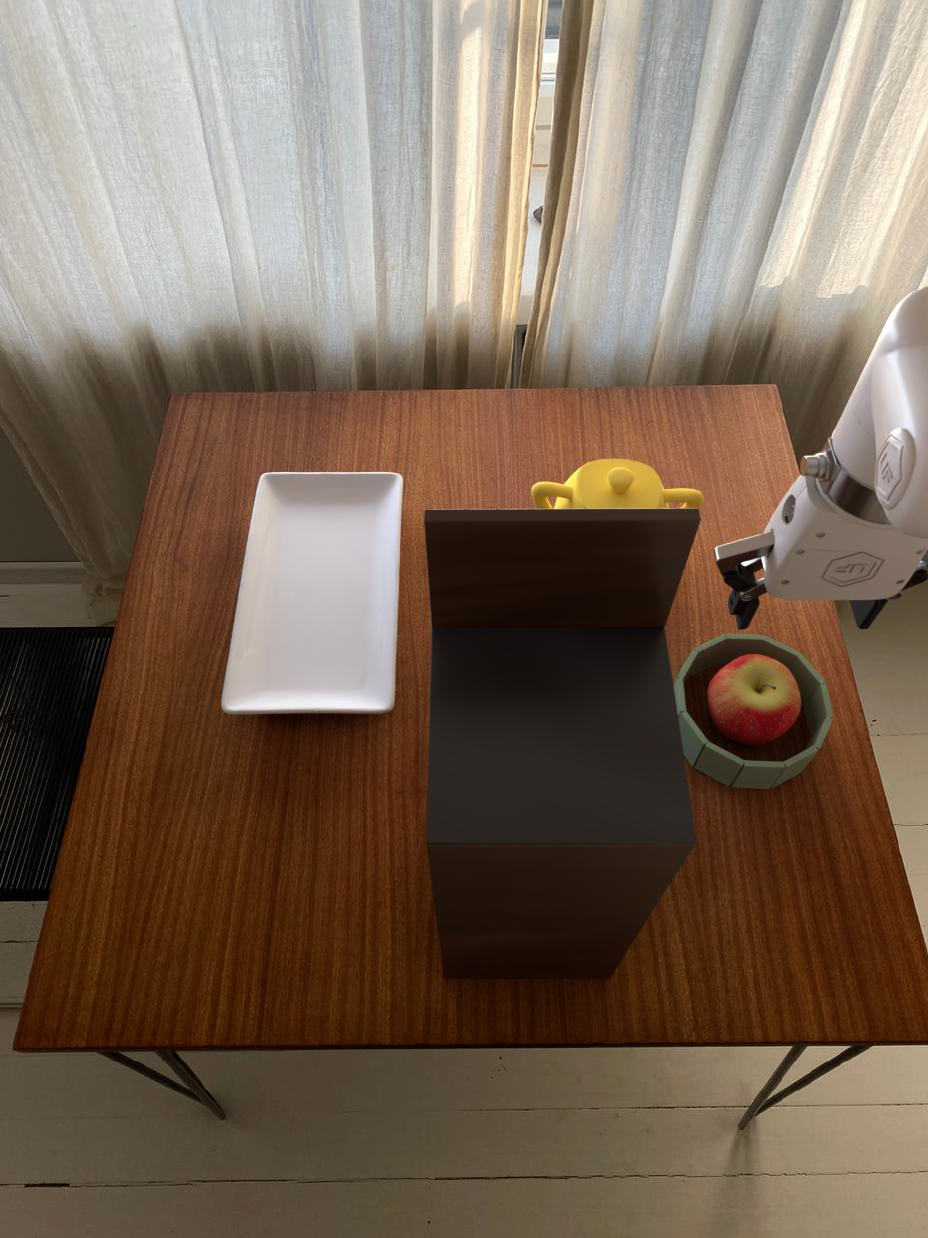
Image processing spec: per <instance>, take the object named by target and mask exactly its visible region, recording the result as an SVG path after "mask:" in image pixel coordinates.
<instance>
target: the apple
mask: <svg viewBox="0 0 928 1238" xmlns="http://www.w3.org/2000/svg"><path fill="white" fill-rule="evenodd" d="M706 692H707V693H706V702H707V708H708V712H709V715H710V718H711V720H712V722H713V724H714V726H715V728H716V729H717V731H718V732H720V733H721V734H722V735H723V736H725V737H726V738H727V739H729V740H732V741H734V742H737V743H739V744H743V745H747V746H762V745H765V744H768V743H771V742H772V741H775V740H776V739H778V738H779V737H781V736H783V735H784V734H785V733H786V732H788V731H789V729H790V728H791V727H792V726H793V725H794V724H795V722H796V721H797V719H798V717H799V715H800V711H801V708H802V705H801V697H800V692H799V688H798V685H797V683H796V680H795V678H794V676H793V675H792V673H791V672H790V670H789V669H788V668H787V667H786V666H784V665H783V664H782V663H780V662H778V661H777V660H775V659H772V658H770V657H767V656H764V655H758V654H749V655H744V656H741V657H739V658H737V659H735V660H733V661H732V662H730V663H728V664H725V665H724V666H723V667H722V668H720V669H719V670H718V672H717V673H716V674H715V675H714V676H713V678H711V680H710V682H709V685H708V686H707V691H706Z"/></svg>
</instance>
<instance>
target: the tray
mask: <svg viewBox="0 0 928 1238" xmlns="http://www.w3.org/2000/svg"><path fill="white" fill-rule="evenodd" d="M403 492H404V478H403V476H402V475H401V474H400V473H397V472H387V471H386V472H384V471H381V472H380V471H376V472H373V471H370V472H369V471H367V472H365V471H363V472H361V471H360V472H359V471H358V472H357V471H356V472H328V471H327V472H321V471H319V472H301V471H300V472H299V471H297V472H295V471H294V472H292V471H291V472H289V471H284V472H282V471H281V472H280V471H279V472H277V471H276V472H275V471H274V472H265V473H263V474H262V475H260V477H259V480H258V484H257V487H256V492H255V497H254V502H253V507H252V513H251V518H250V524H249V530H248V537H247V542H246V548H245V552H244V553H245V554H244V559H243V565H242V571H241V576H240V583H239V589H238V595H237V601H236V608H235V614H234V621H233V627H232V634H231V640H230V644H229V645H230V646H229V652H228V658H227V665H226V668H225V669H226V671H225V676H224V682H223V689H222V694H221V699H220V700H221V701H220V708H221V711H222V712H223V713H225V714H227V715H281V714H283V715H284V714H285V715H286V714H287V715H288V714H354V715H355V714H358V715H359V714H360V715H362V714H363V715H381V714H382V715H383V714H389V713H390V712H391V711H393V709H394V706H395V700H396V699H395V697H396V676H397V675H396V674H397V673H396V672H397V671H396V669H397V644H398V643H397V642H398V621H399V620H398V618H399V596H400V595H399V593H400V590H399V589H400V565H401V535H402V534H401V533H402V532H401V531H402V530H401V529H402V510H403V494H404V493H403Z"/></svg>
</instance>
